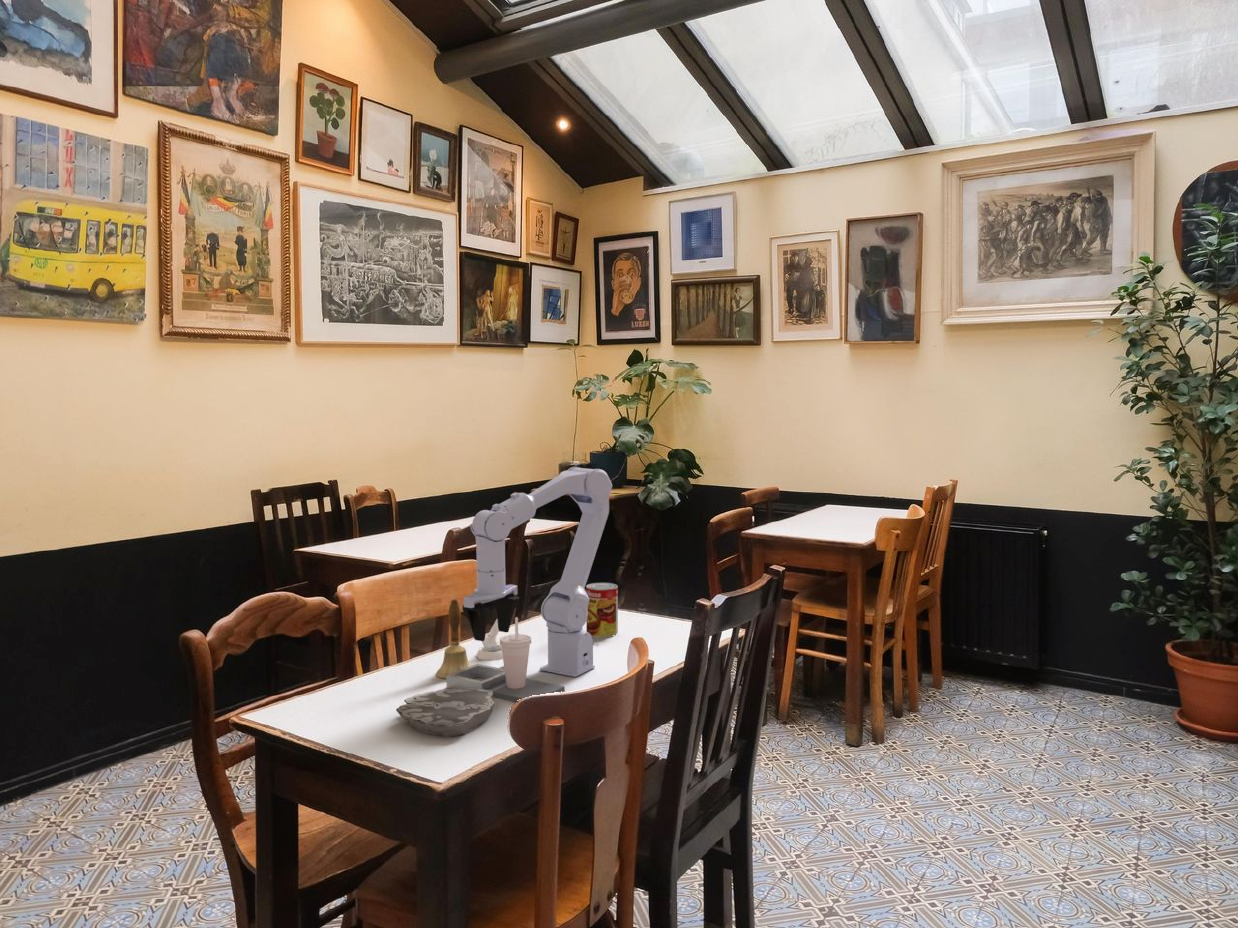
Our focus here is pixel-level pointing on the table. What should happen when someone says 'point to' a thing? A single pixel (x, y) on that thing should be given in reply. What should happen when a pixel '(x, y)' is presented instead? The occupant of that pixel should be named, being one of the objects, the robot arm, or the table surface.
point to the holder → (467, 676)
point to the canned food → (602, 609)
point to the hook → (491, 645)
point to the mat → (526, 690)
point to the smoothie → (515, 657)
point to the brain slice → (448, 710)
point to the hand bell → (453, 646)
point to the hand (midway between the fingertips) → (491, 635)
